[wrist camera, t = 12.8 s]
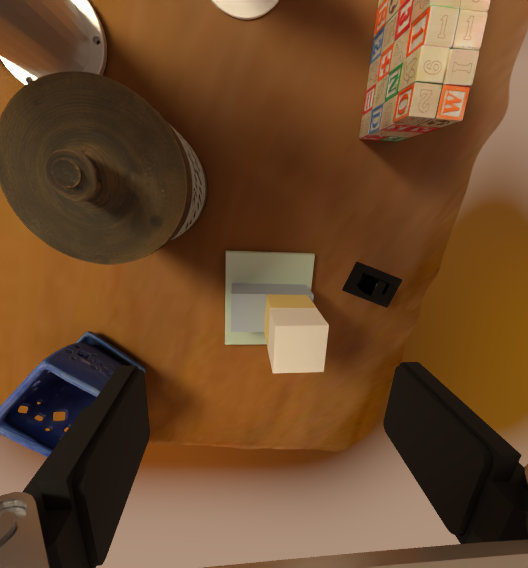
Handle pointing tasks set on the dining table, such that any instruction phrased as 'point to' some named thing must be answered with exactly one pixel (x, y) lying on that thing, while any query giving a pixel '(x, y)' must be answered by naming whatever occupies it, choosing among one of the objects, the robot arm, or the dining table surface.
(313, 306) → the mustard brick
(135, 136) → the wooden container
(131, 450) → the robot arm
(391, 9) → the stack of blocks
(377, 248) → the dining table surface
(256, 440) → the dining table surface
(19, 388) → the flower pot
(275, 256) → the green plate
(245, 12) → the white desk lamp
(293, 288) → the slate-blue long brick
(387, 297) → the black piece
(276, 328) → the cream brick
